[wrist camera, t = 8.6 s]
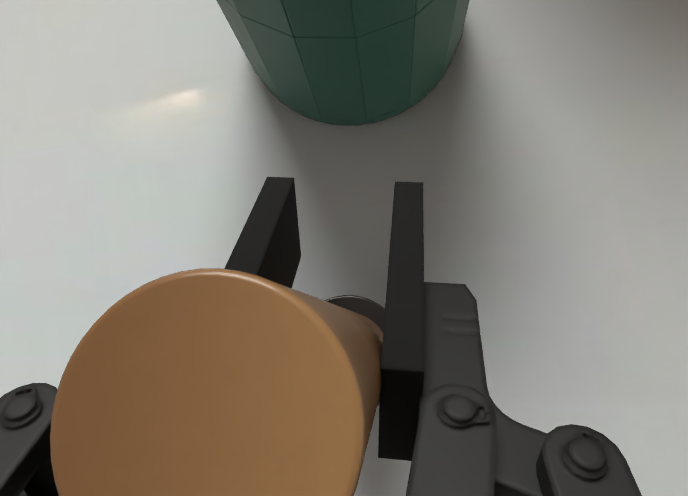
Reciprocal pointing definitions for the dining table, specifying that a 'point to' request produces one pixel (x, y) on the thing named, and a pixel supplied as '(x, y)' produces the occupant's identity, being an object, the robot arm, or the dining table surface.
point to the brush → (219, 392)
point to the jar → (348, 52)
